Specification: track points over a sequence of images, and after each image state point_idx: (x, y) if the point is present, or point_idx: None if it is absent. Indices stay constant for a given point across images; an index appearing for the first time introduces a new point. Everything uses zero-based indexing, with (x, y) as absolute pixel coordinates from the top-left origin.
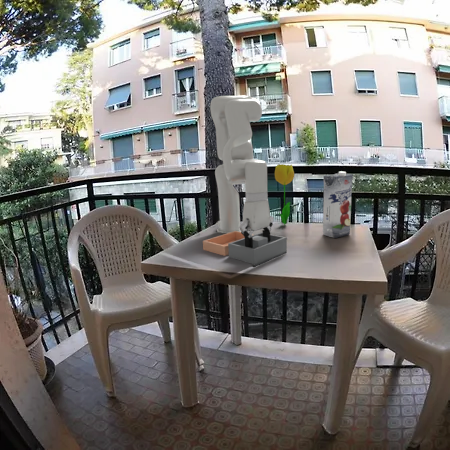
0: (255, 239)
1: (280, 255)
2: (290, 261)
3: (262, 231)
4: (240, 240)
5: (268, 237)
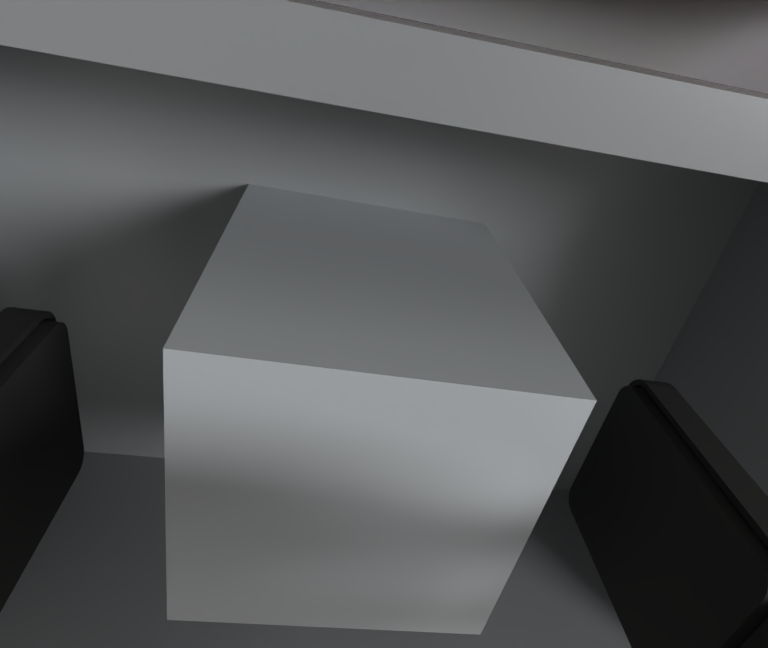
0: (226, 537)
1: None
2: None
3: (759, 563)
4: (61, 54)
5: (602, 567)
